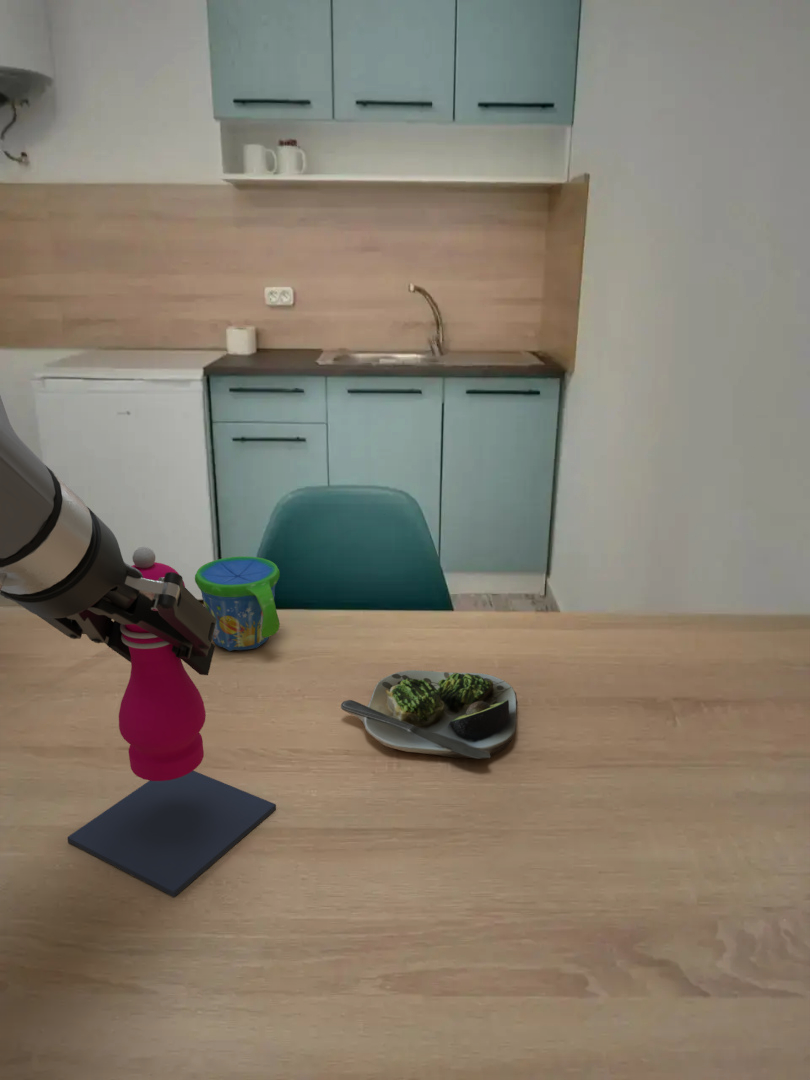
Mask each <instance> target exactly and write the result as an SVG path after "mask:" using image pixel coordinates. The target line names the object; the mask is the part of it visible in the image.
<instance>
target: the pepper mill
mask: <svg viewBox="0 0 810 1080" xmlns="http://www.w3.org/2000/svg"><path fill="white" fill-rule="evenodd" d="M132 562H133V564H132V565H131V566H132V567H134V568H136V569H138V570H139V571H140V572H141V573H142V575H143V578H145V579H151V580H156V581H158V580H159V578H160V577H165V574H166V573H168V572H174V573H177V574H179V575H180V573H179V572H178V571H177V570H176V569H175V568H173V567H171V566H170V565H167V564H166V563H161V562H157V561H156V553H155V552H154V550H153V549H151V548H150V547H148V546H141V547H138V548H137V549H135V550H134V552H133V554H132ZM183 586H184V587H185V588H186V584H185V582H184V580H183ZM120 630H121V632H122V636H121V640H122V642H123V643H124V644H125V645H127V646H128V647H129V651H130V655H131V662H130V664H131V665H130V668H131V669H130V675H129V679H128V683H127V685H126V689H125V691H124V693H123V696H122V698H121V701H120V705H119V711H118V730H119V732H120V735H121V737H122V738H123V740H124V741H125V742H126V743H127V744H128V745H129V747H128V758H129V767H130V770H131V771H132V773H133V774H134V775H135V776H136V777H138V778H140V779H142V780H144V781H166V780H172V779H176V778H179V777H182V776H184V775H186V774H188V773H190V772H192V771H195V770H196V769H197V768H198V767H199V766H200V764H201V763H202V762H203V760H204V755H205V751H204V741H203V736H202V734H201V733H200V732H201V730H202V729H203V728H204V725H205V722H206V716H207V715H206V708H205V703H204V699H203V697H202V695H201V693H200V691H199V689H198V688H197V686H196V684H195V682H194V681H193V680H192V678H191V677H190V675H189V674H188V672H187V671H186V669H185V667H184V664H183V660H182V659H180V658H177V657H176V654H175V653H173V652H172V648H173V645H172V644H170V643H168V642H166V641H165V640H163V639H161V638H159V637H157V636H156V635H154V634H152V633H150V632H148V631H147V630H145V629H143V628H141V627H139V626H137V625H136V624H121V625H120Z"/></svg>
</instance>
